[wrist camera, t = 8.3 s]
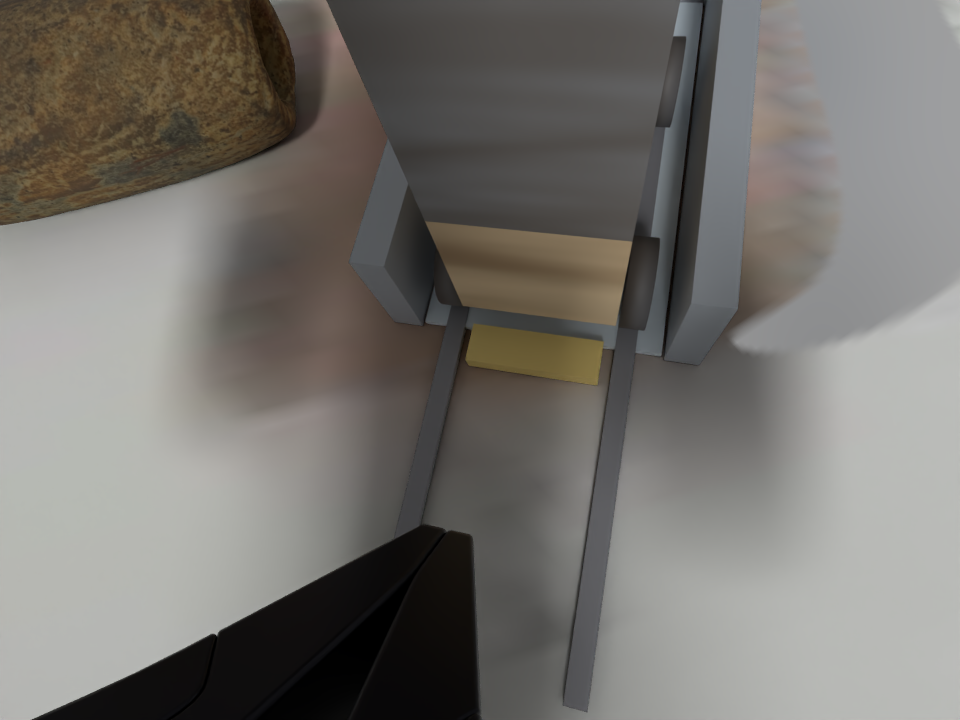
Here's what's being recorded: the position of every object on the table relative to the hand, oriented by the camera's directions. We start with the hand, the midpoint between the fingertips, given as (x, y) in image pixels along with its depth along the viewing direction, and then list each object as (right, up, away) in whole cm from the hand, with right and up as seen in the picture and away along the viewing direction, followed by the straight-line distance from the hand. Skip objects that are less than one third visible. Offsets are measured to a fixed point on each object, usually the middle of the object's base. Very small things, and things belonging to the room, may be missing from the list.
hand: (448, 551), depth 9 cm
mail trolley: (+3, +8, +10) cm, 13 cm away
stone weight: (-13, +11, +14) cm, 22 cm away
